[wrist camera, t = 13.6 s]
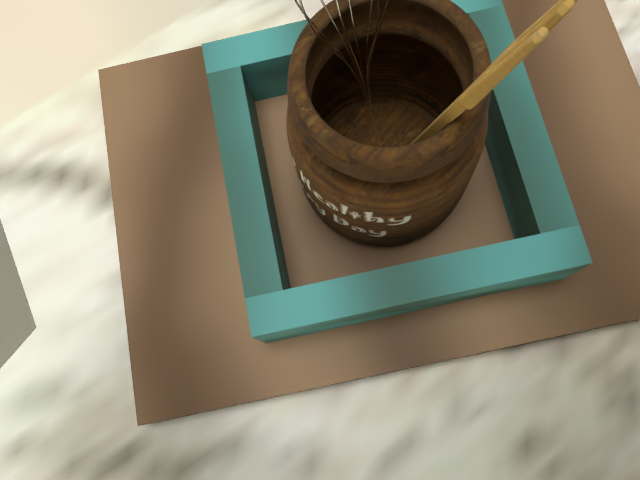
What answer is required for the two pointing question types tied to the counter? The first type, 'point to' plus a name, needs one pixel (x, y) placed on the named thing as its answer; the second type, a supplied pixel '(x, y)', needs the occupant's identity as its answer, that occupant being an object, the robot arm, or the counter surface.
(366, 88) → the utensil holder
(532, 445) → the counter surface
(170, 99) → the cradle jig
